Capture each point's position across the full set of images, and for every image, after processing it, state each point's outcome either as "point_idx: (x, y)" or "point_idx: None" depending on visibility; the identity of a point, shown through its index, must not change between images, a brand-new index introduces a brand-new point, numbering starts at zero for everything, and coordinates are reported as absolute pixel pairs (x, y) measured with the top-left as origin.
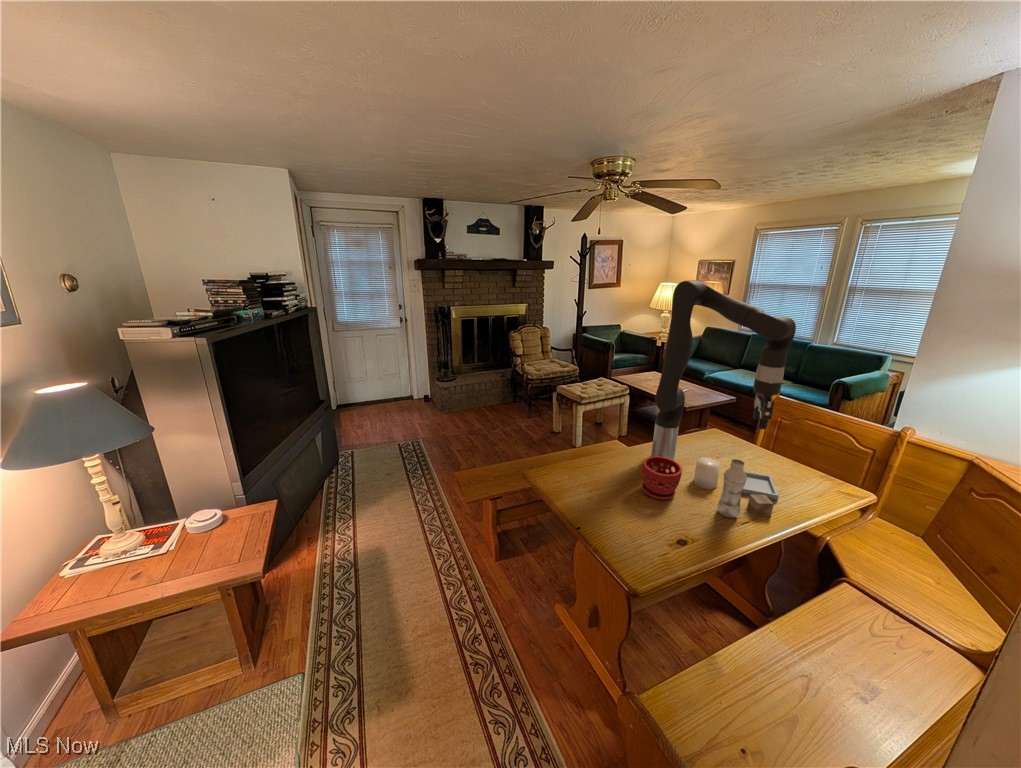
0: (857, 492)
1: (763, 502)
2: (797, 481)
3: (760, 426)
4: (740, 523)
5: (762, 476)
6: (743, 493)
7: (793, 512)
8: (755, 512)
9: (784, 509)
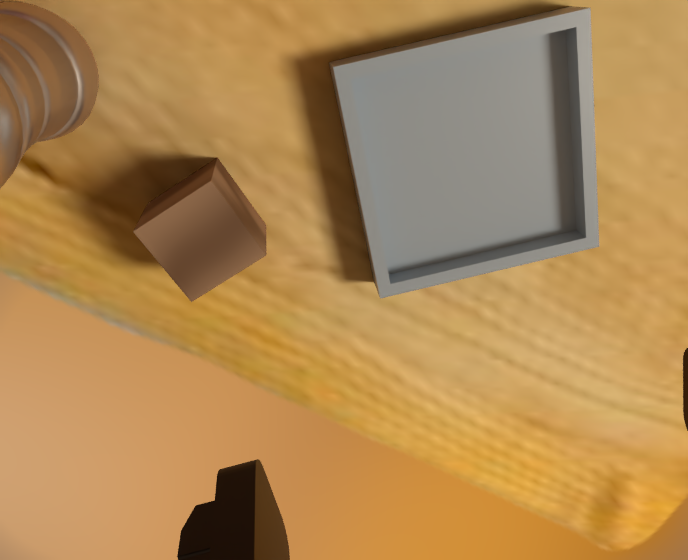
0: (640, 527)
1: (164, 255)
2: (642, 345)
3: (199, 521)
4: None
5: (580, 205)
6: (342, 124)
7: (309, 347)
8: (149, 206)
9: (312, 313)
